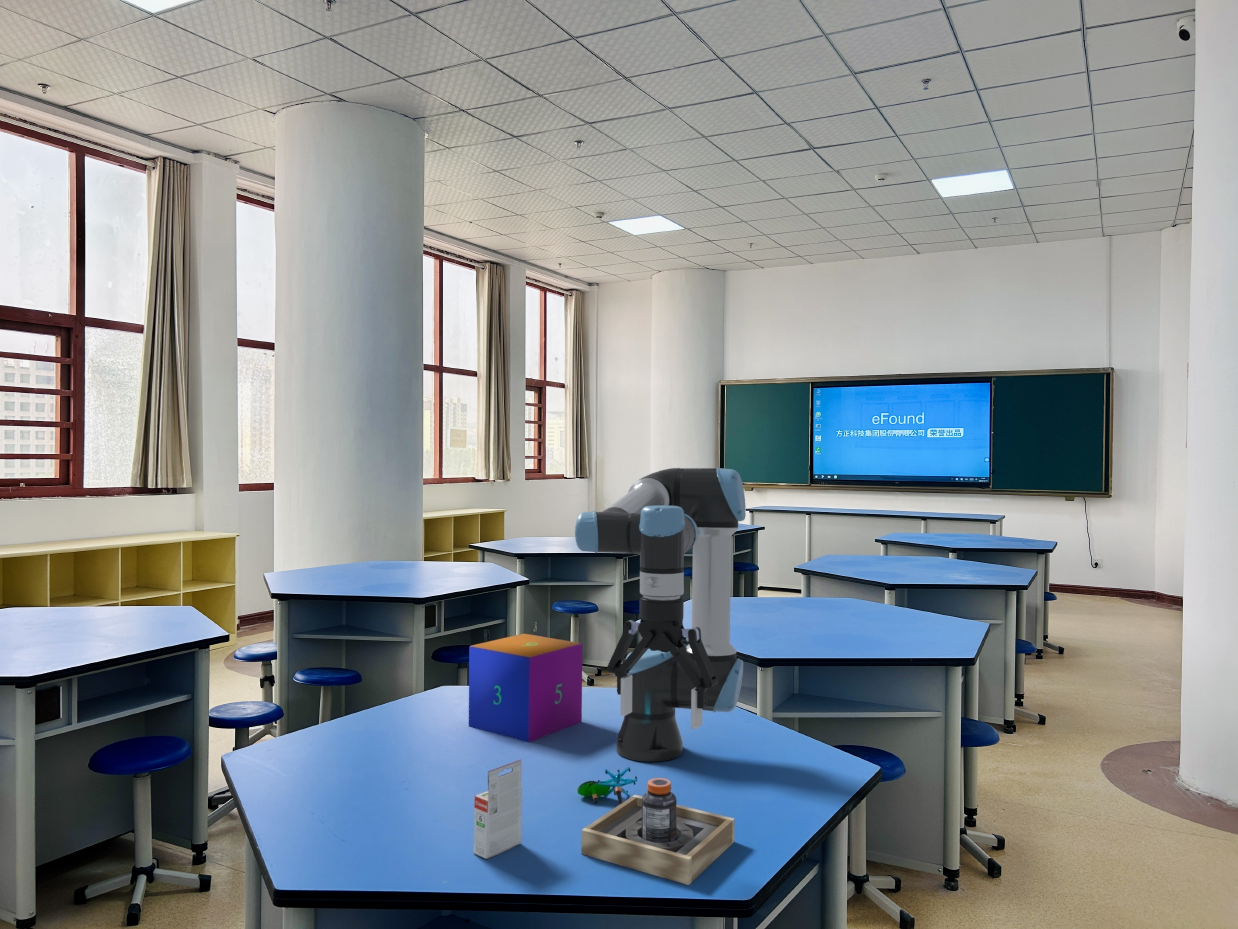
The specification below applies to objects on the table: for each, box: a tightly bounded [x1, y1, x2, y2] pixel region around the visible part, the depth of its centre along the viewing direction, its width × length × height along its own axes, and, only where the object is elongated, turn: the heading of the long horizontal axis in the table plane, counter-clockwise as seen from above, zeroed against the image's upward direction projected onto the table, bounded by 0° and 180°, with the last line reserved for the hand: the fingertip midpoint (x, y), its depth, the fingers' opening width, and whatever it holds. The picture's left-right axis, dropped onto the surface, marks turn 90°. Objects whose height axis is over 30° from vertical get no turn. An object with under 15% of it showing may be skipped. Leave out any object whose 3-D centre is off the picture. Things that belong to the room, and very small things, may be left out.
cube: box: [468, 633, 583, 743], centre depth 213 cm, size 20×20×20 cm
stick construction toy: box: [576, 766, 639, 806], centre depth 164 cm, size 12×7×8 cm
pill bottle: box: [642, 777, 678, 843], centre depth 145 cm, size 6×6×11 cm
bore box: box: [580, 794, 736, 886], centre depth 145 cm, size 20×18×4 cm
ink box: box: [473, 759, 523, 860], centre depth 144 cm, size 4×8×15 cm, turn 140°
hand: (660, 720), depth 145 cm, fingers open, 13 cm apart
